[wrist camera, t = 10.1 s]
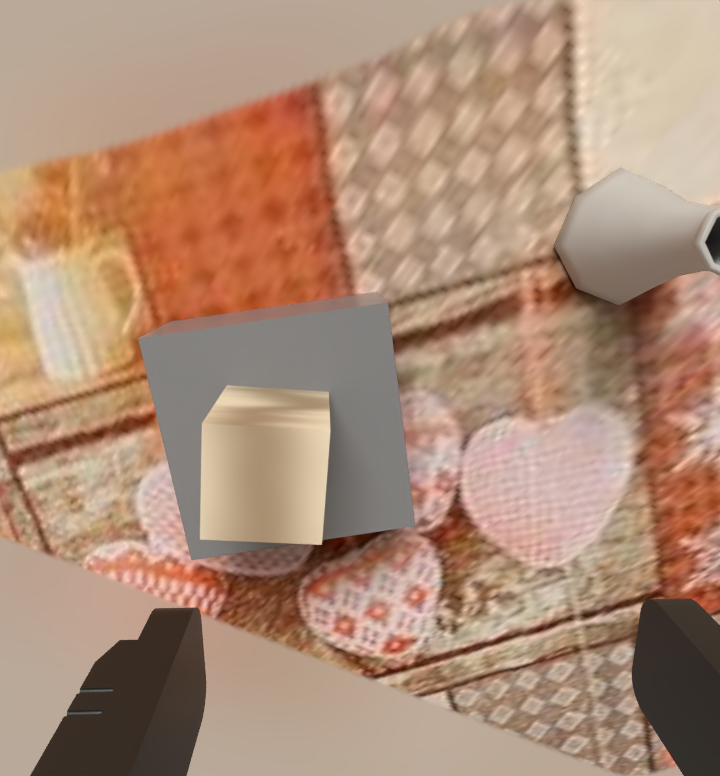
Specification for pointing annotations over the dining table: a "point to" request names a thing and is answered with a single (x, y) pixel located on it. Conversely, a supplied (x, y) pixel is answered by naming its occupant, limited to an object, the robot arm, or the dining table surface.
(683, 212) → the flask
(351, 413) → the grey box
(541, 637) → the dining table surface
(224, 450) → the birch block
